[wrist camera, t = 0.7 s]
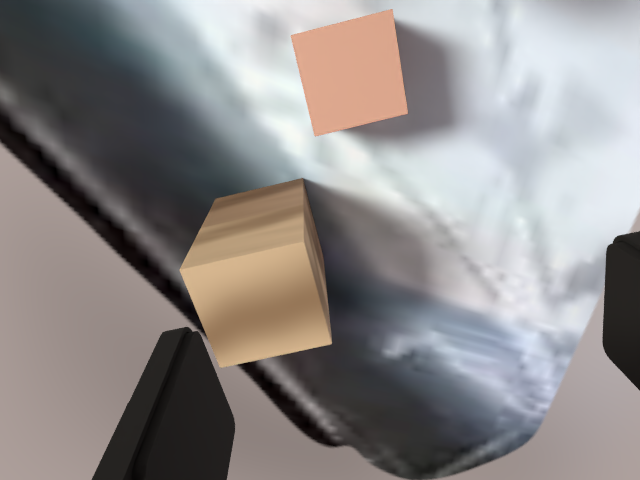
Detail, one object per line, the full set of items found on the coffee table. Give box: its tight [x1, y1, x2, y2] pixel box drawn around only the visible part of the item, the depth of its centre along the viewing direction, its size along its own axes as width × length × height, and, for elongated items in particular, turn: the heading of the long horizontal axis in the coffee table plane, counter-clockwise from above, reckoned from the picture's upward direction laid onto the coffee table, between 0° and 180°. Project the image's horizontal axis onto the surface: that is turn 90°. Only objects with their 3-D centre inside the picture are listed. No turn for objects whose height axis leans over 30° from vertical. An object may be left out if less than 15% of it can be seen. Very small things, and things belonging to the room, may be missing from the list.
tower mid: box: [180, 204, 332, 368], centre depth 25 cm, size 6×6×5 cm
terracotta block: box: [291, 9, 408, 136], centre depth 25 cm, size 5×5×5 cm
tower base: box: [201, 178, 327, 292], centre depth 29 cm, size 6×6×5 cm
